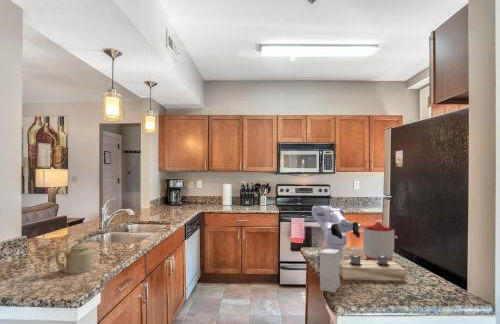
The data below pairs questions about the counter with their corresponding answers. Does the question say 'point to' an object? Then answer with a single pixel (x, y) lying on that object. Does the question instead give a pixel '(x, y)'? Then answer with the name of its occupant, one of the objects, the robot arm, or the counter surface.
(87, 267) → the olive green teapot
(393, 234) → the citrus juicer
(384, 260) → the steel peg
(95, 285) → the counter surface
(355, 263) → the steel peg
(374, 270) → the maple peg block
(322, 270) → the skincare box
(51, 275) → the counter surface
